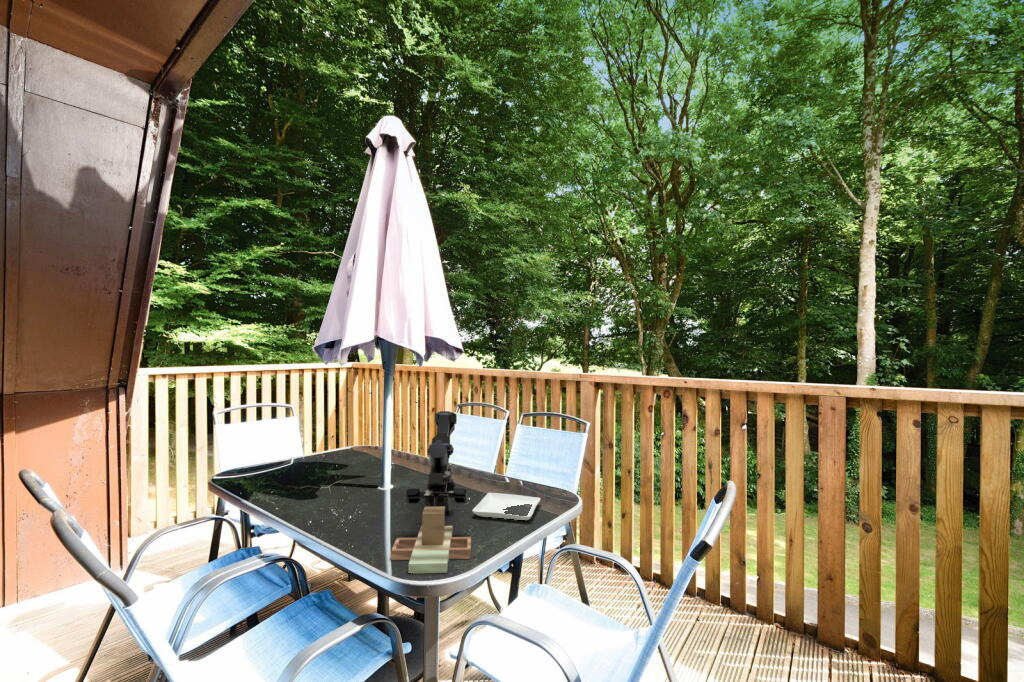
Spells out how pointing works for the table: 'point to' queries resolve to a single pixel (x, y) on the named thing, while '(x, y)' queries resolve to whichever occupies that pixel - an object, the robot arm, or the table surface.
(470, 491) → the table surface
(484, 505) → the salad plate
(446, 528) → the track
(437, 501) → the robot arm
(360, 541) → the table surface
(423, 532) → the walnut block
